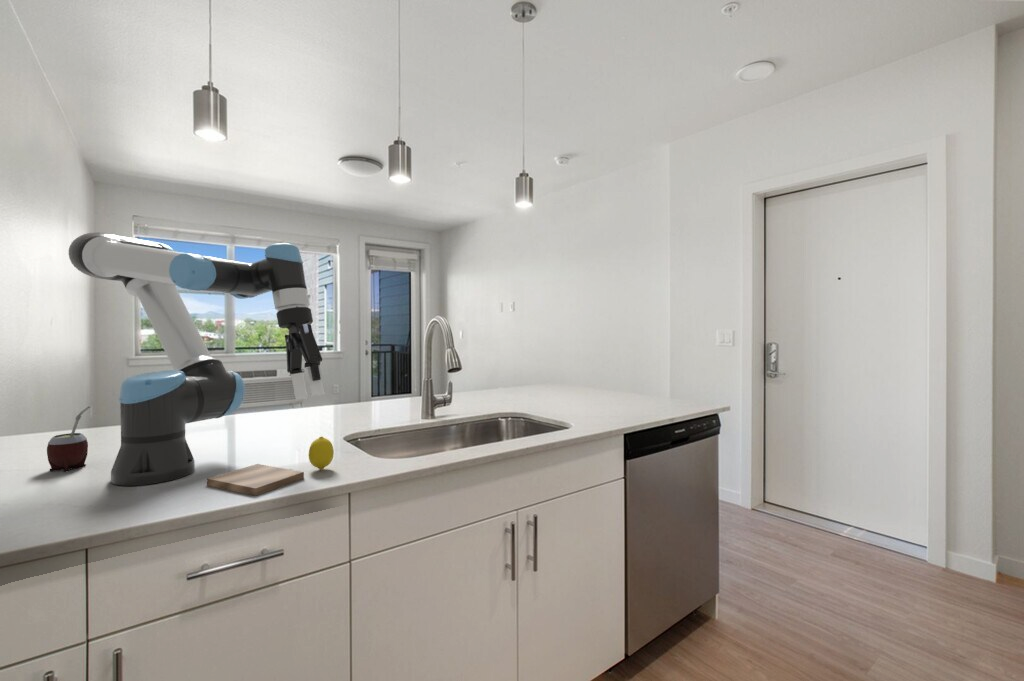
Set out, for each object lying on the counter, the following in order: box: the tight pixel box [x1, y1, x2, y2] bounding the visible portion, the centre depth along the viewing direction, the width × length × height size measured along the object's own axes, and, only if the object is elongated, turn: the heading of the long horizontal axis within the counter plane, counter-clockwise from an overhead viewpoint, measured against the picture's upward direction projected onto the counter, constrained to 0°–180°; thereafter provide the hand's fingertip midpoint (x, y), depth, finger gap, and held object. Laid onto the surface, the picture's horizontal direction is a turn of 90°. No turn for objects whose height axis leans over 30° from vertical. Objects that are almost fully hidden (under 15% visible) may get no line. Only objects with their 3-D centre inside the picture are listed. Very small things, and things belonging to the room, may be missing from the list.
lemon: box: [308, 436, 335, 471], centre depth 111 cm, size 6×6×8 cm
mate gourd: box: [46, 406, 91, 473], centre depth 111 cm, size 8×8×15 cm
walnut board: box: [206, 463, 305, 496], centre depth 102 cm, size 15×12×2 cm
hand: (309, 397), depth 109 cm, fingers open, 13 cm apart
